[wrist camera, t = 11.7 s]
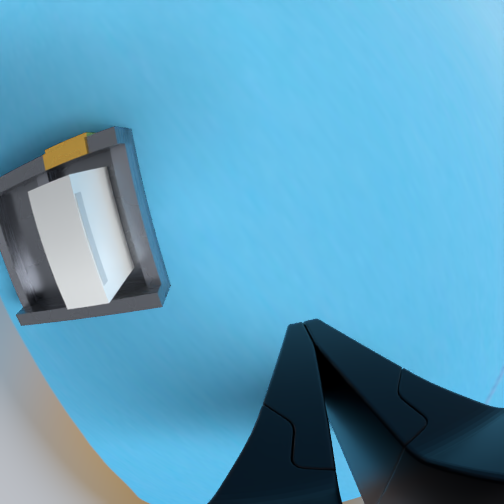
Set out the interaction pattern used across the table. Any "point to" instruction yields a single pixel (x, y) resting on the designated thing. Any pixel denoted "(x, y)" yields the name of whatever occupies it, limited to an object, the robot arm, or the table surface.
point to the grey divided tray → (30, 245)
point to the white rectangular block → (82, 236)
